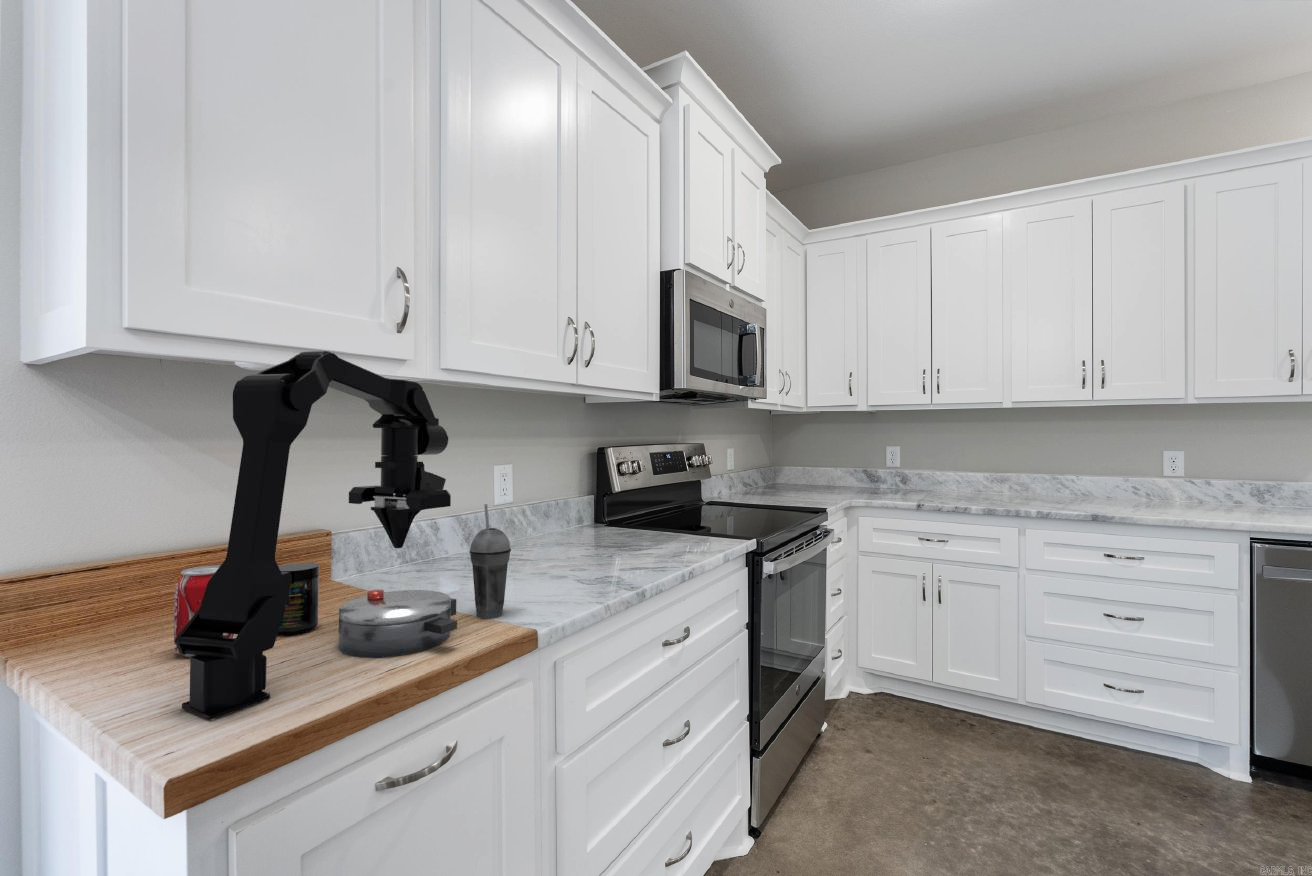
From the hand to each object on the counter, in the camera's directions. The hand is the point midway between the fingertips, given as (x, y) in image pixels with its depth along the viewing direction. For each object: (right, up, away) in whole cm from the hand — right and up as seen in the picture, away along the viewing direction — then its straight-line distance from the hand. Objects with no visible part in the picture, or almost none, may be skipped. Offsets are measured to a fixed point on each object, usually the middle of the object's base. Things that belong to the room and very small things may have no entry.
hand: (398, 547), depth 99 cm
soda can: (-23, -13, -13) cm, 29 cm away
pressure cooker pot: (+3, -13, -7) cm, 15 cm away
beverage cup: (+14, -13, +6) cm, 20 cm away
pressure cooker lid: (+3, -8, -7) cm, 11 cm away
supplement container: (-15, -13, -3) cm, 20 cm away
